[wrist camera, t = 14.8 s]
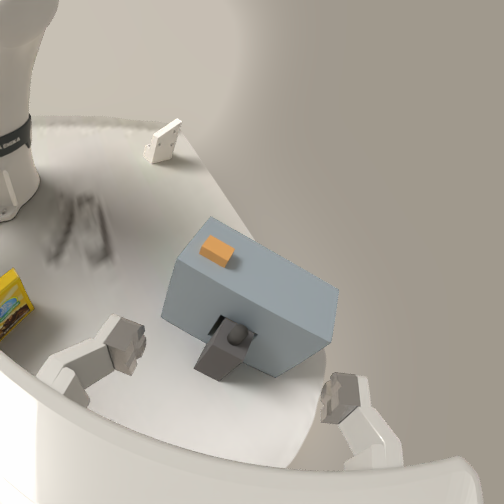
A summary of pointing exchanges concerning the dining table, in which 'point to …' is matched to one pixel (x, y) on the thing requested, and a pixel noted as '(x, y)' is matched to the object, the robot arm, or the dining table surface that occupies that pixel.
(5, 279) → the candy box
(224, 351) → the plug
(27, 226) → the dining table surface
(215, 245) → the socket
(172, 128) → the white wedge bracket
